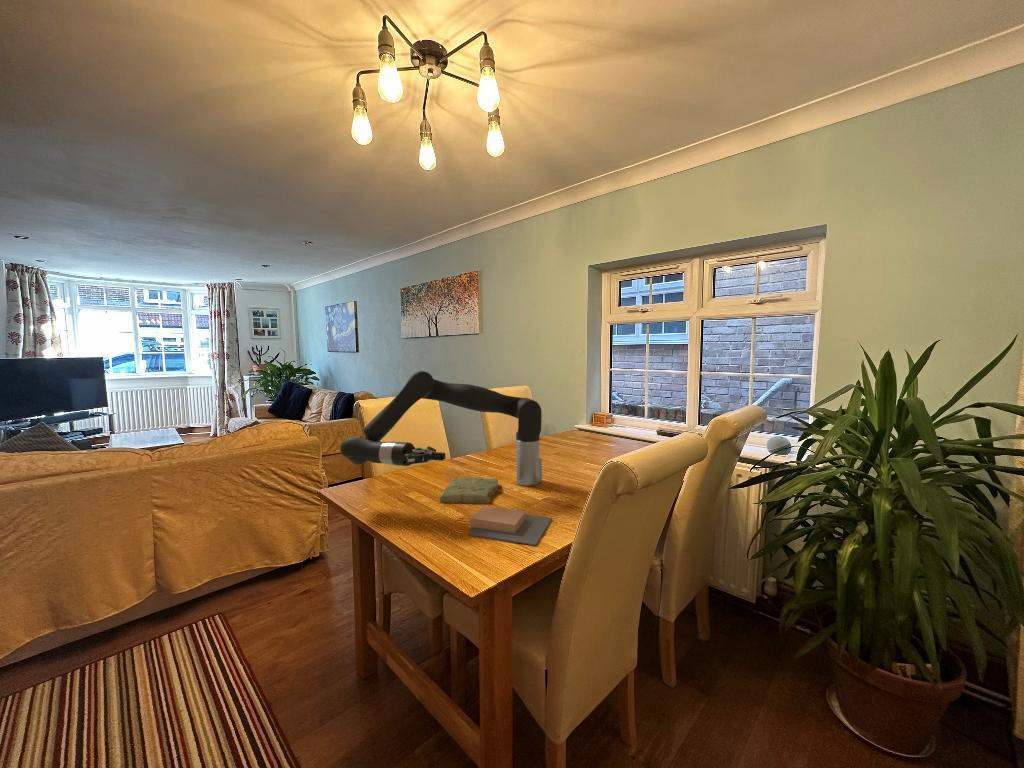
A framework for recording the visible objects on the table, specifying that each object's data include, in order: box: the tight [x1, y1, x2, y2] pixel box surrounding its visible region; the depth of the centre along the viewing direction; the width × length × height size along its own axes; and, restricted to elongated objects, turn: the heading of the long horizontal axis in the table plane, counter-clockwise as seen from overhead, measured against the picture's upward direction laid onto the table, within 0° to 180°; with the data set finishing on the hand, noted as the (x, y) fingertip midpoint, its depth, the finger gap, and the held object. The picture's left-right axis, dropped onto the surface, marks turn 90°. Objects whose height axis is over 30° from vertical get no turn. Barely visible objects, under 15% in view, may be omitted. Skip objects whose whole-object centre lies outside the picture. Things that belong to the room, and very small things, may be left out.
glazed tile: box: [469, 505, 527, 534], centre depth 121 cm, size 3×10×14 cm
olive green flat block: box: [439, 476, 500, 504], centre depth 148 cm, size 19×20×4 cm
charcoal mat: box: [467, 514, 553, 547], centre depth 119 cm, size 20×18×1 cm
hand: (444, 456), depth 125 cm, fingers closed
